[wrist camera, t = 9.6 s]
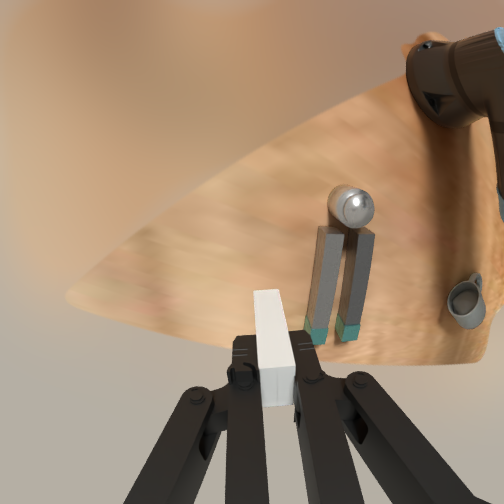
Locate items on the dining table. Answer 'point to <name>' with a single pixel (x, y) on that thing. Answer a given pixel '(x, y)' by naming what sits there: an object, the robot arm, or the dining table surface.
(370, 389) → the robot arm
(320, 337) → the tong swing arm
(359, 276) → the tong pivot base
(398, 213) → the dining table surface
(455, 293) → the ceramic mug
